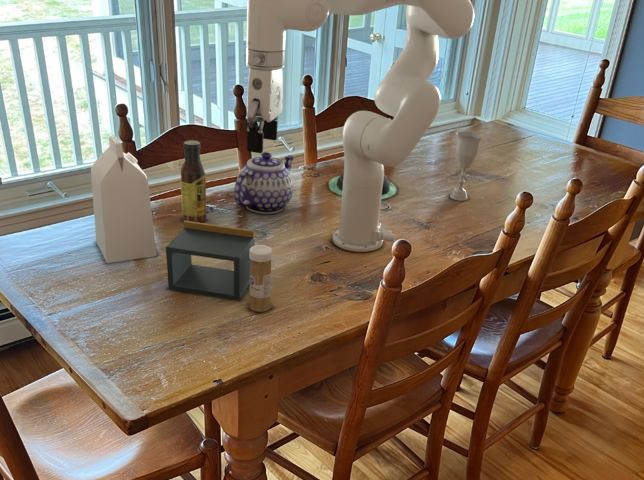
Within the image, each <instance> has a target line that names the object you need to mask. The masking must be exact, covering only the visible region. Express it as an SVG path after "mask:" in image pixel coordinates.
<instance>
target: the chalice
mask: <svg viewBox="0 0 644 480" xmlns="http://www.w3.org/2000/svg"><path fill="white" fill-rule="evenodd" d="M456 137H457V138H456V139H457V141H456V145H455V146H456V147H455V157H456V161H457V164H458V167H459V168H460V169H461V172H460V173H459V177H460V178H459V179H458V184H459V185H458V187H456V188H454V189H453V191H452V192H451V193H450V195H449V197H450V199H452V200H455V201H460V202H462V201H467V200H468V194H467V191H466V189H465V188H464V187H463V186H464V183H465V182H466V181H465V177H466V169H469V168H470V167H471V166H472V165H473V163H474V162H475V160H476V158H477V157H478V155H479V149H480V146H481V145H480V143H481V141H482V139H483V138H484V136H483V134H481V133H479V132H474V131H465V130H463V131H458V132H456Z"/></svg>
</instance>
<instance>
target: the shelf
mask: <svg viewBox="0 0 644 480" xmlns="http://www.w3.org/2000/svg"><path fill="white" fill-rule="evenodd" d="M253 246H255V230H254V229H250V228H249V229H248V228H240V227H234V226H228V225H220V224H212V223H205V222H192V221H185V220H183V228H182V229H181V230H180V231H179V232H178V233H177V234H176V235H175V236H174V237H173V238H172V240H171V241H170V242H169V243H168V244H167V245H166V246H165V255H166V271H167V285H168V290H171V291H177V292H184V293H190V294H195V295H196V294H197V295H203V296H209V297H216V298H221V299H222V298H223V299H228V300H235V301H240V300H241V299H242V297H243V295H245V292H246V291H247V290H248V288H249V287H250V257H249V253H250V248H251V247H253ZM192 256H195V257H203V258H209V259H214V260H215V259H216V260H223V261H228V262H233V270H232V269H225V268H218V267H211V266H205V265H197V264H193V263H192Z"/></svg>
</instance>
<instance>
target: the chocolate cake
mask: <svg viewBox="0 0 644 480" xmlns="http://www.w3.org/2000/svg"><path fill="white" fill-rule="evenodd" d="M343 178H344V172H343V173H342V174H341V175H338V176H335V177H333V178H331V179H330V180H329V181H328V188H329V189H330V191H331V192H333V193H335V194H337V195H339V196H342V190H343ZM396 193H397V186H395V184H394V183H392V182H391V181H389V179H388V178H387V175H386V174H385V173H384V180H383V187H382V196H381V200H384V199H389V198H391V197H393V196H394V195H396Z"/></svg>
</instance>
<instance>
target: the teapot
mask: <svg viewBox="0 0 644 480" xmlns="http://www.w3.org/2000/svg"><path fill="white" fill-rule="evenodd" d="M272 156H273V155H272V154H271V153H270V152H268V151H263V152H262V153H260V156H256V157H252V158H249V159H248V160H247V161H246V164H245V165H244V166H243V167H242V168H241V169H240V170H239V171H238V174H237V178H236V180H235V184H234V188H233V189H234V190H233V197H234V201H235V202H236V204H237V205H239V206H240V207H245V208H246V209H247V210H249V211H251V212H253V213H255V214H261V215H269V214H270V215H272V214H277V213H279V212H281V211H282V210H283V208H284V207H286V206H287V205H288V204H290V202H291V200H292V198H293V194H294V179H293V175H292V173H291V172H292V171H291V170H292V164H293V160H294V158H295V156H294V155H289V154H287V155H285V157H284V158H283V160H282V159H279V158H276V157H272Z"/></svg>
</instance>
